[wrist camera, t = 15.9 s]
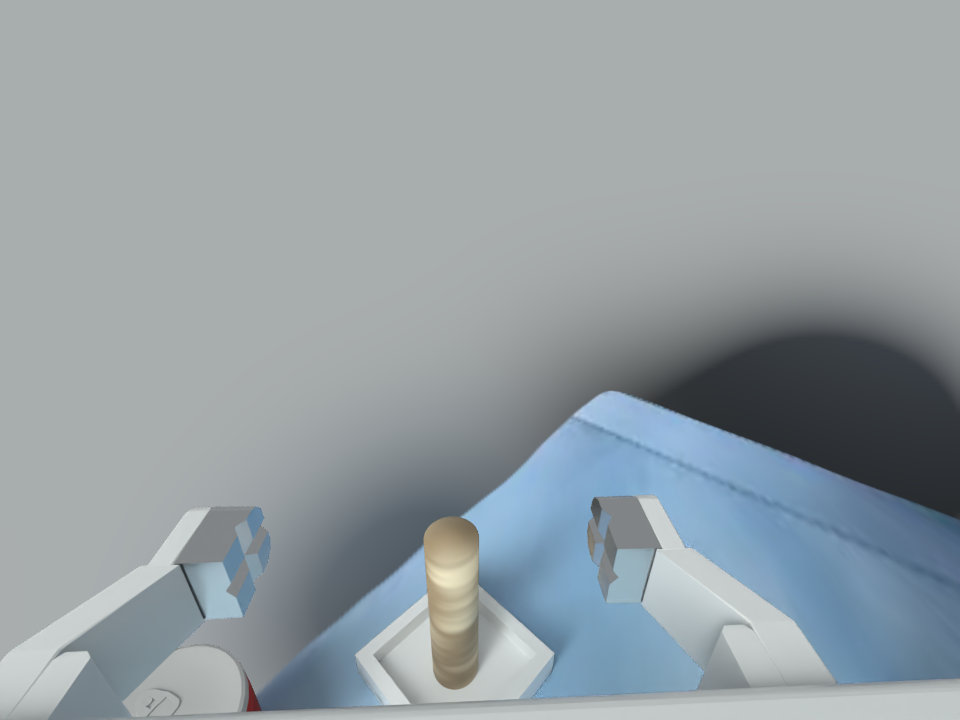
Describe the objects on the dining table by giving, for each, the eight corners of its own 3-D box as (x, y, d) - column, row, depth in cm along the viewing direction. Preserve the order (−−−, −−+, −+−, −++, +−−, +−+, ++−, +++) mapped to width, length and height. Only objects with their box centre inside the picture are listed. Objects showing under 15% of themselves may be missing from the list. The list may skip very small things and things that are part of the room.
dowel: (487, 663, 35) (490, 537, 29) (454, 700, 33) (449, 571, 26) (456, 632, 37) (452, 508, 31) (423, 665, 35) (412, 538, 29)
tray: (551, 671, 35) (554, 653, 34) (450, 802, 28) (449, 785, 27) (458, 584, 42) (458, 566, 41) (358, 672, 35) (354, 654, 34)
